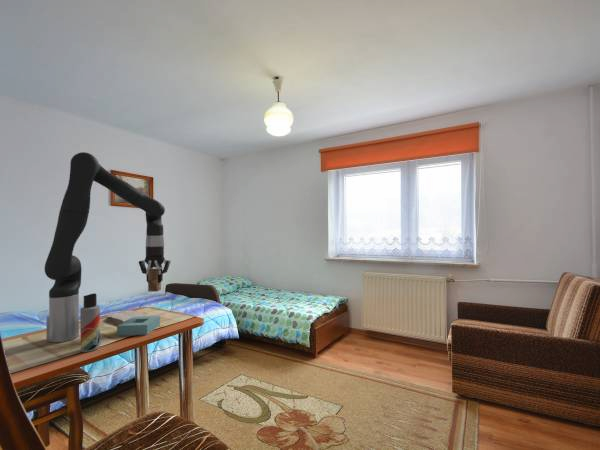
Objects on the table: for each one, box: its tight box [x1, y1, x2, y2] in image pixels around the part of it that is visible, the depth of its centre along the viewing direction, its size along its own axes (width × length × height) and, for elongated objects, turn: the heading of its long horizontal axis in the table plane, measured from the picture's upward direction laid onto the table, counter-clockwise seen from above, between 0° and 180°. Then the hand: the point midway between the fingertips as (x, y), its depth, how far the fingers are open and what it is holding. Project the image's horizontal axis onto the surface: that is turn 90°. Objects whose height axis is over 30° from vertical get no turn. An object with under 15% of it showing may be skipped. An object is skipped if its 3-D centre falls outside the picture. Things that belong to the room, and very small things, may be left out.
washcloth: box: [105, 309, 148, 325], centre depth 140 cm, size 12×18×3 cm, turn 58°
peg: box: [147, 267, 162, 293], centre depth 133 cm, size 4×4×10 cm
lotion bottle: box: [79, 292, 101, 353], centre depth 104 cm, size 6×6×20 cm
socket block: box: [116, 315, 161, 337], centre depth 124 cm, size 12×12×4 cm
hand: (154, 282), depth 133 cm, fingers closed on peg, 4 cm apart
